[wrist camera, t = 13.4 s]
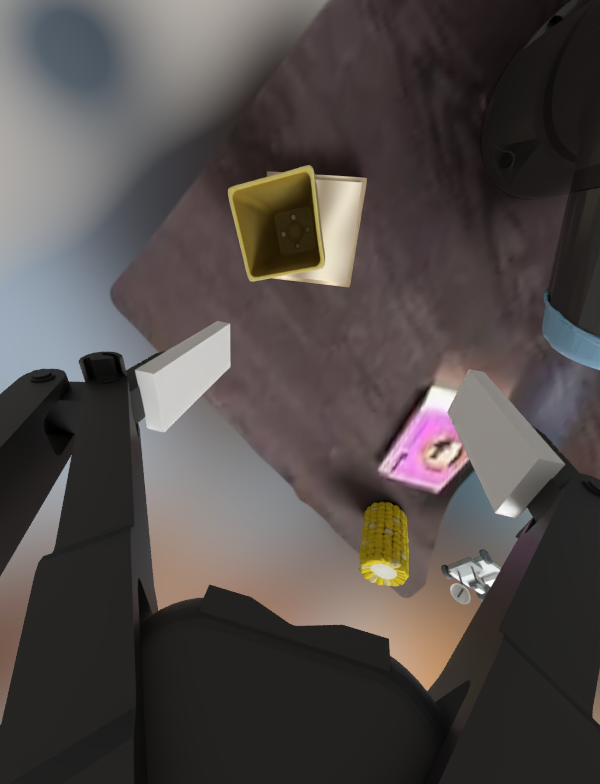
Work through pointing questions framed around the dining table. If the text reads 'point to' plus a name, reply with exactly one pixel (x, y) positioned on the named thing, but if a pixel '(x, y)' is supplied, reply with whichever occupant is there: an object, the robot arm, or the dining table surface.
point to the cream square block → (335, 228)
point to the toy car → (472, 576)
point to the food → (384, 545)
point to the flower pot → (279, 224)
